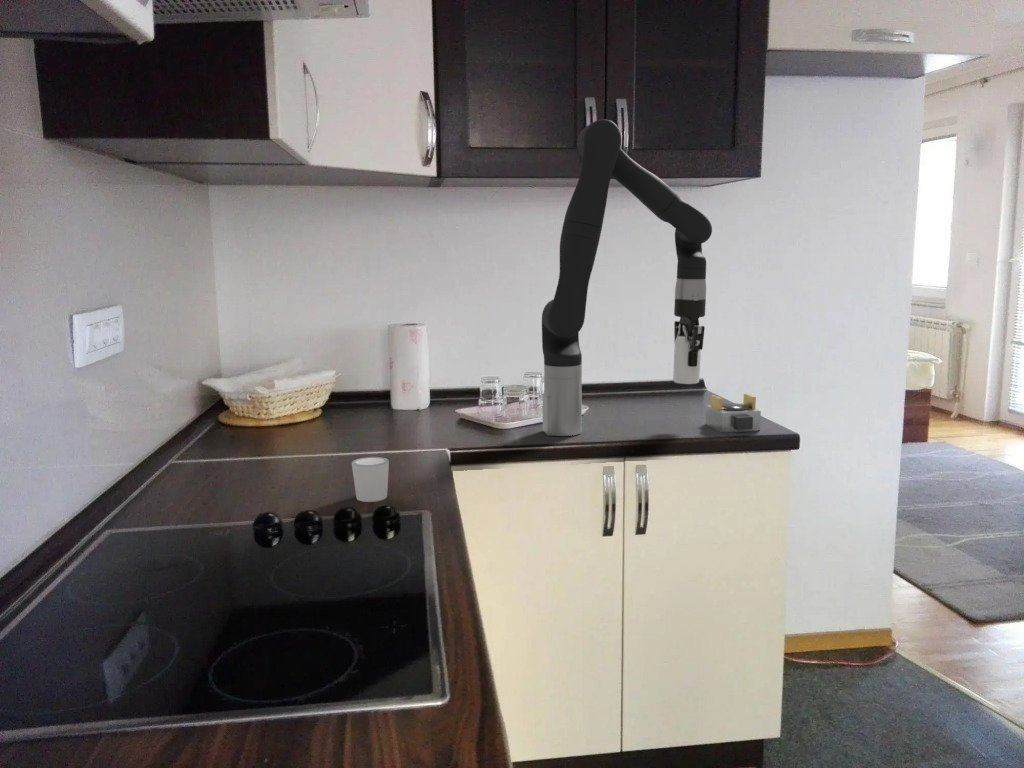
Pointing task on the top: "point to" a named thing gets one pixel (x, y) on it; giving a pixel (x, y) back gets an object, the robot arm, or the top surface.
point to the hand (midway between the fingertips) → (687, 364)
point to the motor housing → (733, 415)
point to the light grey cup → (370, 478)
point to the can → (684, 363)
